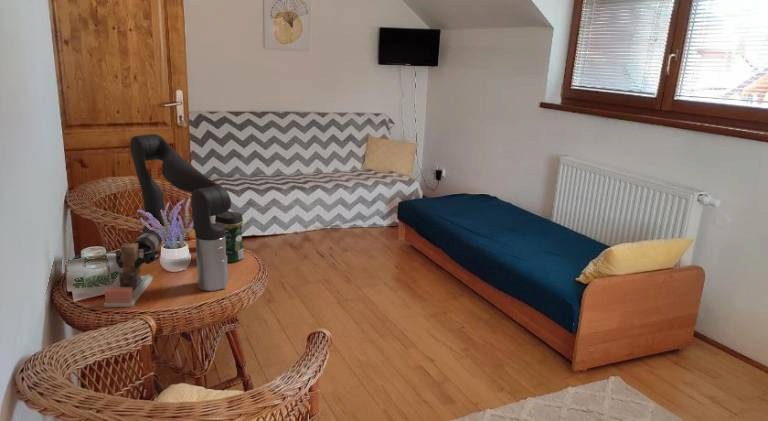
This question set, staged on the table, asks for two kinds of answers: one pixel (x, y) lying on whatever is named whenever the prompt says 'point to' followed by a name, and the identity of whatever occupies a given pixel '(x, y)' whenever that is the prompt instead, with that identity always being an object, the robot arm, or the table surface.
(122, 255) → the chain block
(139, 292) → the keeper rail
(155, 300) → the table surface
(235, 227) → the coffee jar
